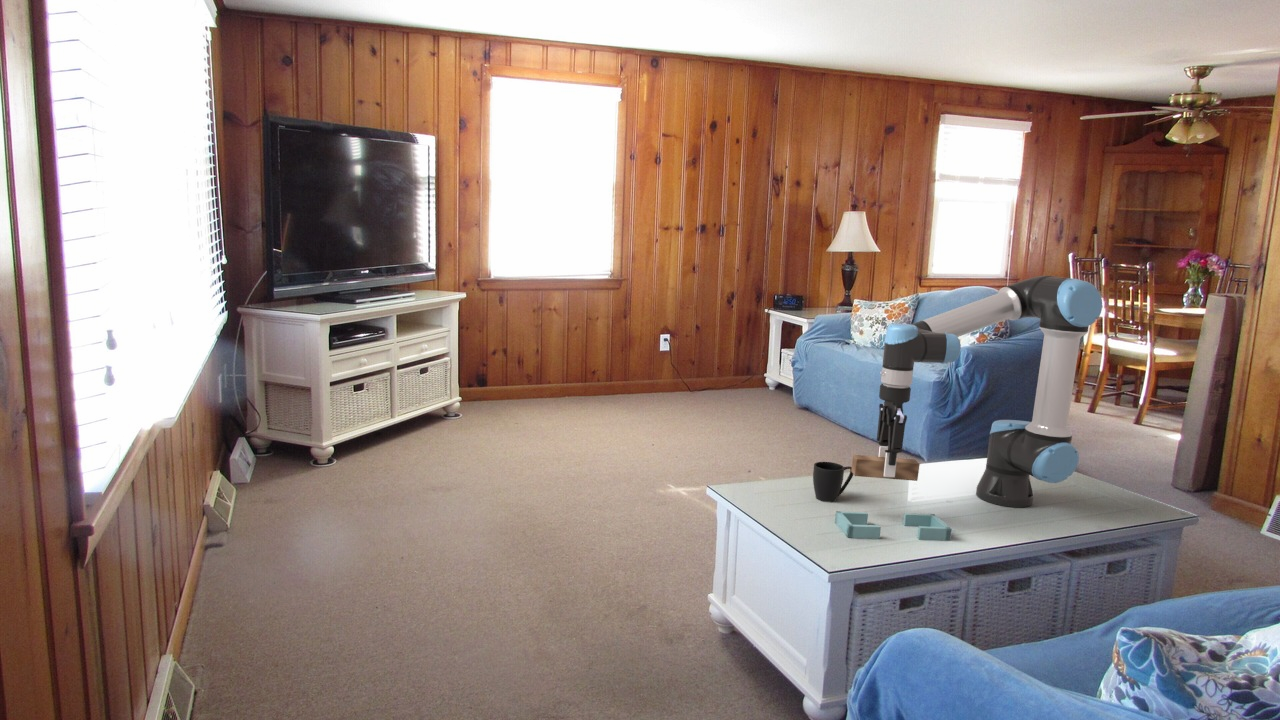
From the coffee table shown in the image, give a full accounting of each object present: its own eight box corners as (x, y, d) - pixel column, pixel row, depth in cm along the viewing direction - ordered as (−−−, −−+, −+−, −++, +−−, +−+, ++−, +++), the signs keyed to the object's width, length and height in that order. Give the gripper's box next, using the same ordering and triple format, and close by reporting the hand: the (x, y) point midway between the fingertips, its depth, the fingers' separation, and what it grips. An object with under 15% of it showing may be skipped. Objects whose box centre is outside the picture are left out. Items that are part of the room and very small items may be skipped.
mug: (858, 502, 237) (862, 469, 235) (820, 504, 233) (823, 470, 231) (843, 492, 244) (846, 460, 243) (805, 494, 241) (808, 462, 239)
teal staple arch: (932, 525, 222) (934, 513, 222) (950, 540, 212) (951, 528, 211) (902, 524, 221) (904, 513, 221) (918, 539, 211) (920, 528, 211)
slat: (912, 476, 223) (915, 459, 222) (917, 480, 219) (919, 463, 218) (851, 471, 223) (853, 454, 222) (854, 476, 219) (856, 459, 218)
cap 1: (847, 537, 210) (849, 526, 209) (834, 522, 220) (836, 511, 219) (879, 538, 210) (880, 527, 210) (865, 523, 221) (866, 512, 220)
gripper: (870, 377, 225) (860, 463, 229) (893, 391, 208) (882, 483, 212) (897, 378, 226) (888, 464, 230) (923, 392, 209) (912, 484, 213)
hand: (885, 473), depth 221 cm, fingers closed on slat, 4 cm apart
